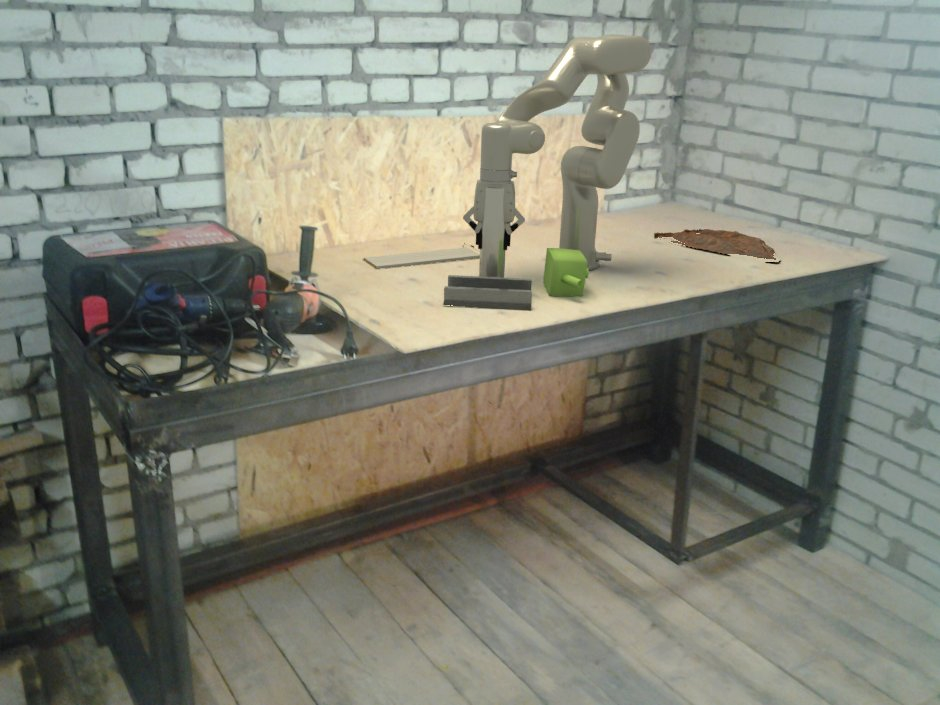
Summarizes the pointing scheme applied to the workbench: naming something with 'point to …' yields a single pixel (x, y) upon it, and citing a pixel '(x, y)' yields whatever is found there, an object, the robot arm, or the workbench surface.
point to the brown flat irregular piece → (722, 242)
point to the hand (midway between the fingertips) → (492, 247)
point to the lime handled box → (565, 272)
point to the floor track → (488, 292)
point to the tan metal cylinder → (493, 234)
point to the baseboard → (421, 257)
